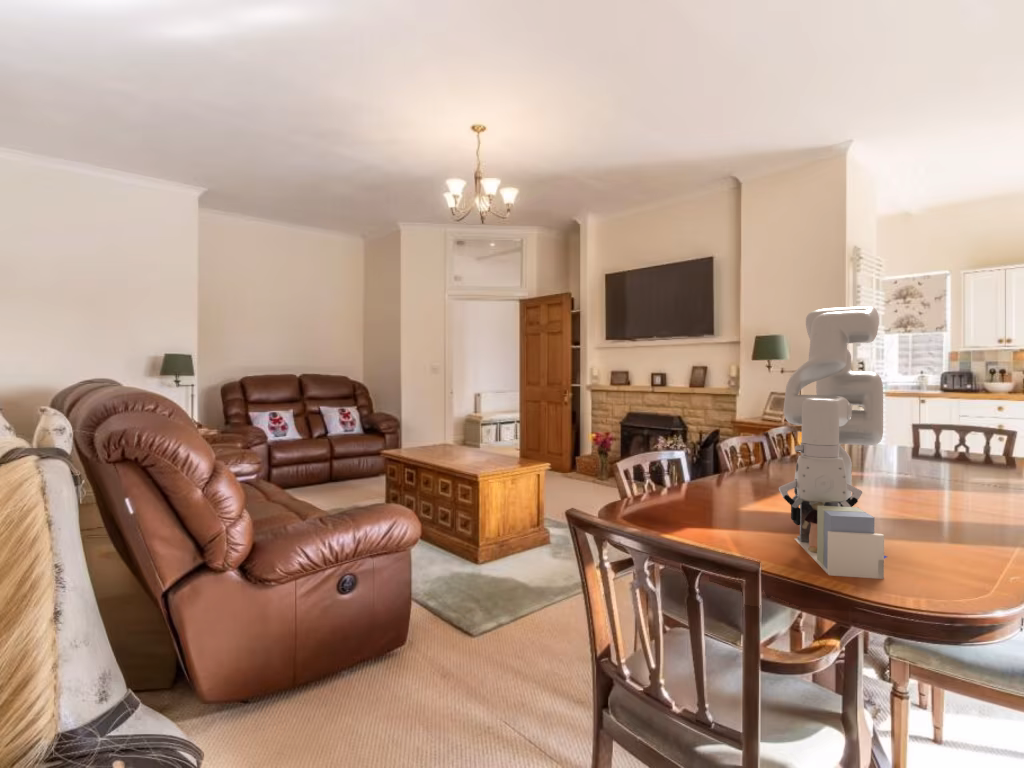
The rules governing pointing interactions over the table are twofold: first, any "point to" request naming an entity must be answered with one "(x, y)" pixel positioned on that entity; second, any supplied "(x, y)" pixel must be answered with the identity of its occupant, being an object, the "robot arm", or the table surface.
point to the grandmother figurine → (812, 525)
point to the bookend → (805, 509)
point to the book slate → (846, 525)
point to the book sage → (821, 526)
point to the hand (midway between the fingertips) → (819, 524)
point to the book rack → (852, 554)
